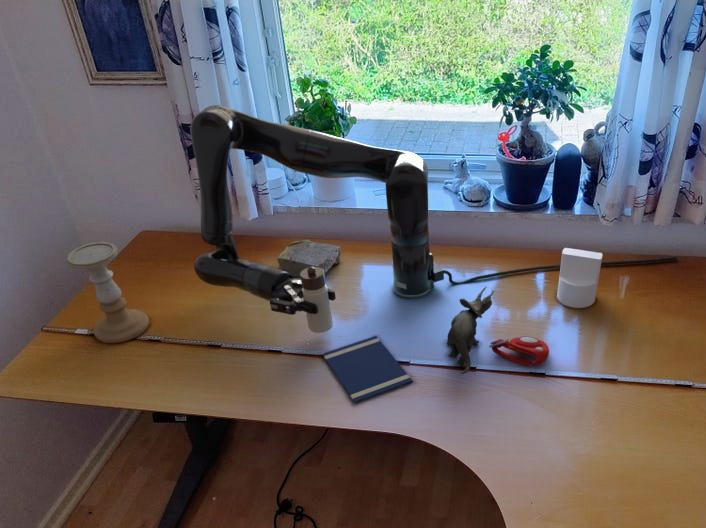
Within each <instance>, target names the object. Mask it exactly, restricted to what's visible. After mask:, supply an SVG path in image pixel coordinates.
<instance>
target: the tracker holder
mask: <svg viewBox="0 0 706 528" xmlns="http://www.w3.org/2000/svg"><path fill="white" fill-rule="evenodd" d="M488 347H489V348H491V350H492V352H493V353H494V354H496V355H498V356H500V357H502V358H504V359H507V360H510V361H512V362H516V363H519V364H521V365H525V366H540V365H542V364H544V363H545V362H546V361H547V359H548V358H549V355H550V349H549V346H548V344H547V343H546V342H544V341H543V340H540V339H538V338H535V337H532V336H520V337H514V338H511V339H510V338H506V339H502V338H498V339H496V340H493V341H491V342H490V345H488ZM502 347H503V348H505V349H507V350H511V351H515V352H519V353H524V354H527V355H530V356H532V357H535V358H536V359H535V360H534V361H532V360H530V359H526V358H523V357H521V356H517V355H514V354H511V353H508V352H505V351H504V350H501V349H502ZM500 348H501V349H500Z"/></svg>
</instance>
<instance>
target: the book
mask: <svg viewBox="0 0 706 528" xmlns="http://www.w3.org/2000/svg"><path fill="white" fill-rule="evenodd" d="M322 357H323V358H324V360H325V362H326V363H327V364H328V366H329V367H330V369H331V370H332V372H333V374H334V375H335V376H336V378H337V379H338V381H339V382H340V384H341V385H342V386H343V388H344V390H345V391H346V392H347V394H348V396H349V397H350V398H351V400H352V402H353V403H354V404H358V403H361V402H364V401H366V400H369V399H371V398H374V397H376V396H380V395H383V394H385V393H387V392H390V391H393V390H397V389H398V388H401V387H404V386H407V385H410V384H412V383H413V382H414V380H413V379H412V378H411V376H410V375H409V374H408V373H407V372H406V370H405V369H404V368H403V367H402V365H401V364H400V363H399V362H398V361H397V360H396V358H395V357H394V355H393V354H392V353H391V351H389V349H388V348H387V347H386V346H385V345H384V343H383V342H382V341H381V339H379V337H378V336H377V335H373V336H371V337H368V338H365V339H362V340H359V341H356V342H352V343H350V344H347V345H344V346H341V347H338V348H335V349H332V350H329V351H326V352H324V353H322Z"/></svg>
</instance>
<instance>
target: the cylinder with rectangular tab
mask: <svg viewBox="0 0 706 528" xmlns="http://www.w3.org/2000/svg"><path fill="white" fill-rule="evenodd" d="M602 260H603V253H602V252H597V251H591V250H584V249H576V248H570V247H564V248H563V249H562V252H561V260H560V264H561V267H560V269H559V277H558V285H557V293H556V299H557V300H558V302H559V303H560V304H561V305H564V306H565V307H568V308H569V307H570V308H574V309H583V308H588V307H590V306H592V305H593V304H594V303H595V301H596V296H597V291H598V285H599V279H600V272H601V266H602V265H601V262H603V261H602Z"/></svg>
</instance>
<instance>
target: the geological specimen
mask: <svg viewBox="0 0 706 528" xmlns="http://www.w3.org/2000/svg"><path fill="white" fill-rule="evenodd" d="M341 249H342V248H341V246H339V245H334V244H328V243H322V242H316V241H310V240H309V239H305V240H297V241H293V242H291V243H290V244H288V245H287V246H286V247H285V249H284V250H283V251H282V252H281V253H280V254H279V255H278V257H277V260H276V261H277V263H278V265H279V267H280V268H281V269H280V270H282V271H286V272H288V273H289V274H290V275H291V276H293V277H294V278H301V277H300V273H301V271H302V270H304V269H306V268H309V267H319V268H321V269H323V271H324V276H325V275H326V274H327V273H328V271H329V270H330V269H331V268H332V267H333V265H334V266H336V265H338V264H340V263H341V256H342V251H341Z"/></svg>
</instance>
